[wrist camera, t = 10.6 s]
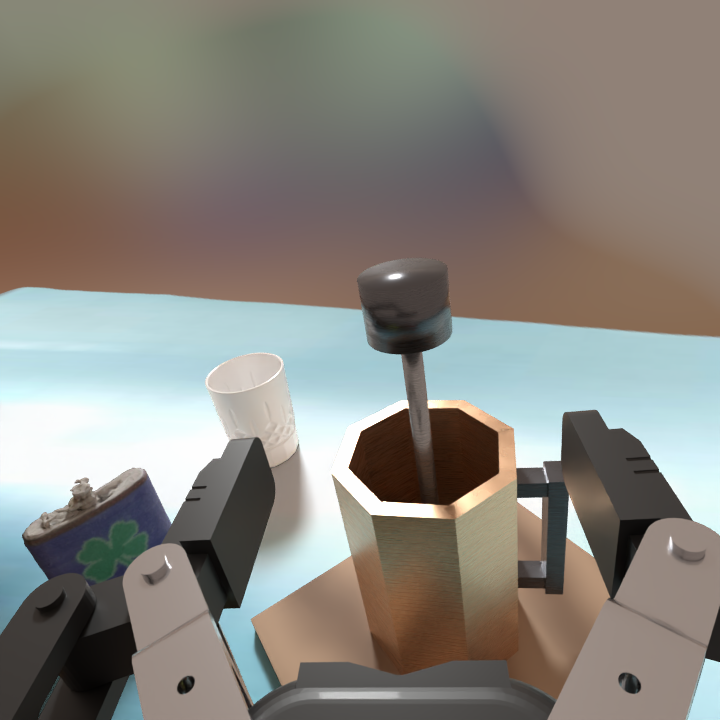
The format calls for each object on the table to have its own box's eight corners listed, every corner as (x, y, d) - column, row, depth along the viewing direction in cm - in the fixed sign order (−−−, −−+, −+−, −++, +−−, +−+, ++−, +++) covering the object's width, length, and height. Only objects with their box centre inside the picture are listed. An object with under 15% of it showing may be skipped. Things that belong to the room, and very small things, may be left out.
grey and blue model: (175, 536, 45) (131, 444, 40) (189, 554, 43) (144, 459, 38) (70, 607, 40) (3, 512, 35) (79, 631, 38) (10, 533, 33)
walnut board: (377, 889, 23) (373, 880, 22) (255, 629, 36) (250, 619, 35) (657, 616, 32) (659, 604, 31) (480, 485, 44) (479, 475, 44)
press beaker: (441, 732, 27) (414, 560, 21) (349, 602, 35) (308, 447, 28) (571, 618, 32) (584, 446, 25) (463, 524, 39) (451, 375, 33)
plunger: (436, 671, 29) (383, 316, 18) (375, 593, 34) (306, 280, 23) (514, 608, 31) (508, 264, 21) (447, 545, 36) (414, 242, 26)
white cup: (318, 442, 54) (299, 363, 49) (261, 484, 49) (233, 402, 45) (275, 420, 59) (253, 346, 54) (219, 456, 54) (190, 379, 50)
